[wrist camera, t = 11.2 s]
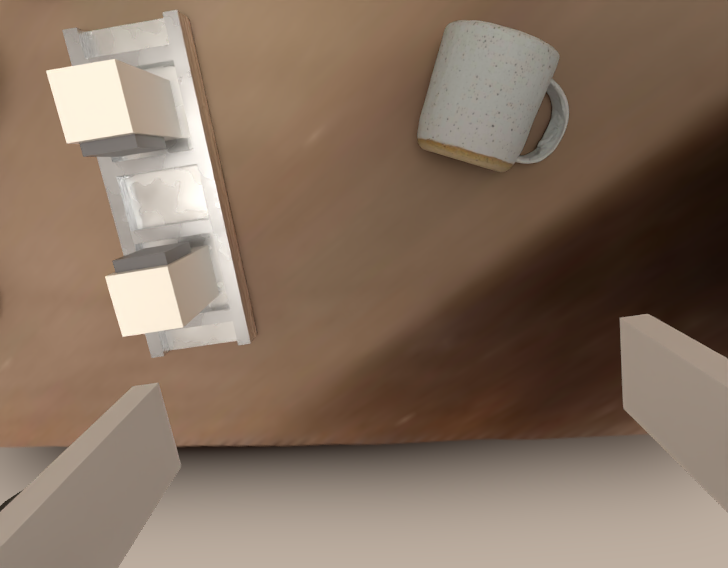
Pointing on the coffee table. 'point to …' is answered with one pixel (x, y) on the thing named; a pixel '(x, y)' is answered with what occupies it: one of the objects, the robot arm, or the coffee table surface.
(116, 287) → the beige jaw block
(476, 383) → the coffee table surface
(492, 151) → the ceramic mug
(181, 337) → the rail
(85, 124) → the block
